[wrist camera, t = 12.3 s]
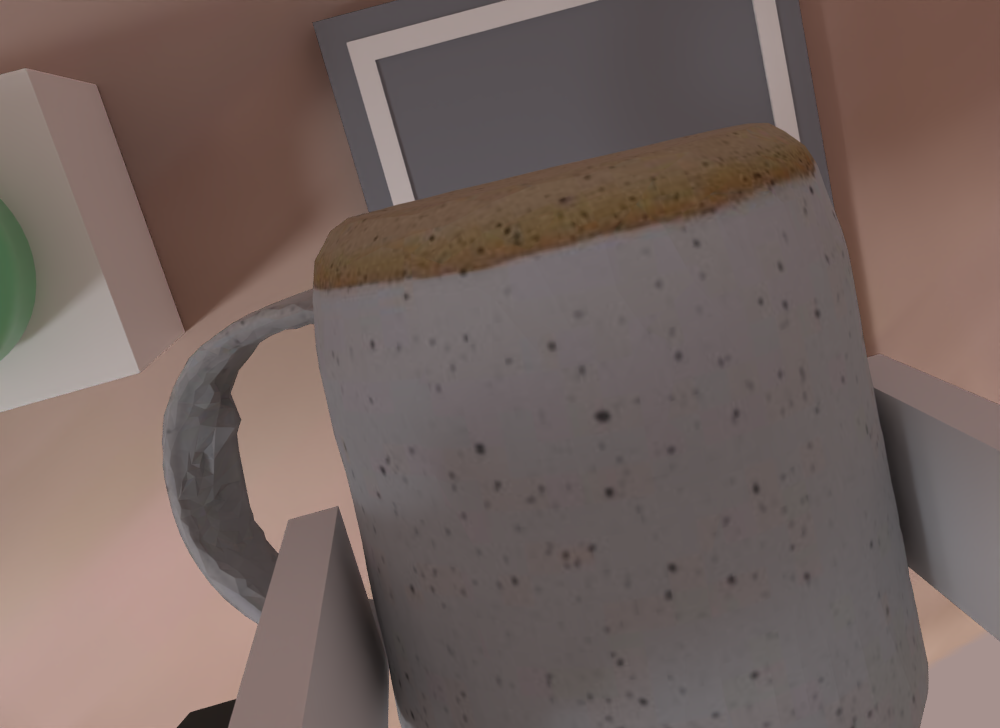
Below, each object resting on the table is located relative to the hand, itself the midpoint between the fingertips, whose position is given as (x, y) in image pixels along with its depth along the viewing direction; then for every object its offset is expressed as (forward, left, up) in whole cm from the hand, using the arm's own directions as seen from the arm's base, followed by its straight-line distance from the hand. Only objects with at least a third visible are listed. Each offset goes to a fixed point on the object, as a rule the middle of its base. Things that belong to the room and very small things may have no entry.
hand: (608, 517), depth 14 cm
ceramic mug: (-1, +1, -3) cm, 4 cm away
